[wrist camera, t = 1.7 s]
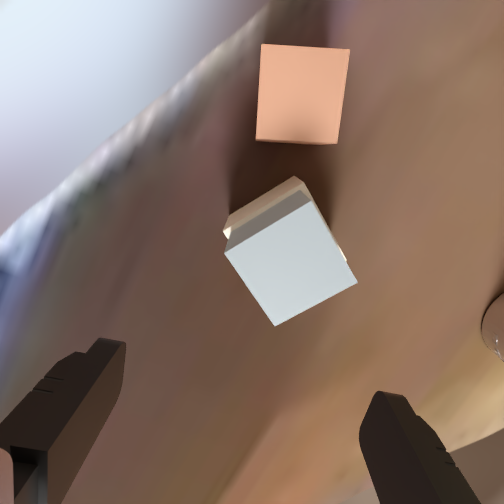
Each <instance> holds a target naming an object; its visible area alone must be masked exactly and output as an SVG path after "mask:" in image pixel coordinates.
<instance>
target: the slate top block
mask: <svg viewBox="0 0 504 504" xmlns="http://www.w3.org/2000/svg"><path fill="white" fill-rule="evenodd" d="M224 253H225V255H226V256H227V258H228V259H229V261H230V262H231V264H232V265H233V266H234V268H235V269H236V271H237V272H238V274H239V275H240V277H241V278H242V280H243V281H244V282H245V284H246V285H247V287H248V288H249V290H250V291H251V293H252V294H253V296H254V297H255V298H256V300H257V301H258V303H259V304H260V306H261V307H262V309H263V310H264V311H265V313H266V314H267V316H268V317H269V319H270V320H271V322H272V323H273V325H274V326H276V325H278V324H280V323H282V322H284V321H286V320H288V319H290V318H292V317H293V316H295V315H297V314H299V313H301V312H303V311H305V310H307V309H309V308H310V307H312V306H314V305H316V304H318V303H320V302H322V301H324V300H326V299H327V298H329V297H331V296H333V295H335V294H337V293H339V292H341V291H342V290H344V289H346V288H348V287H350V286H352V285H354V284H356V283H358V282H357V280H356V279H355V277H354V275H353V273H352V272H351V270H350V268H349V266H348V264H347V263H346V261H345V259H344V257H343V256H342V254H341V252H340V250H339V249H338V247H337V245H336V243H335V241H334V240H333V238H332V236H331V234H330V233H329V231H328V229H327V227H326V226H325V224H324V222H323V220H322V218H321V217H320V215H319V213H318V211H317V210H316V208H315V206H314V204H313V203H312V201H311V200H310V199H309V198H308V197H307V196H306V195H305V194H304V193H303V192H302V191H301V190H298V191H297V192H295V193H294V194H292V195H290V196H289V197H287V198H285V199H284V200H282V201H280V202H279V203H277V204H276V205H274V206H272V207H271V208H269V209H267V210H266V211H264V212H263V213H261V214H259V215H258V216H256V217H254V218H253V219H251V220H249V221H248V222H246V223H245V224H243V225H241V226H240V227H238V228H236V229H235V230H233V231H232V232H231V233H230V236H229V239H228V242H227V246H226V249H225V252H224Z"/></svg>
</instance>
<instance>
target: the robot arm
mask: <svg viewBox="0 0 504 504" xmlns="http://www.w3.org/2000/svg"><path fill="white" fill-rule="evenodd" d="M482 336H483V340H484V342H485V343H486V345H487V347H488V348H489V349H491V350H492V351H493V352H494V353H495V354H496V355H497V356H498V357H499V358H500V359H501V360H502V361H503V362H504V293H503V294H502V295H500V296H499V297H498V298H497V299H496V300H495V301H494V302H493V303H492V305H491V306H490V307H489V309H488V310H487V312H486V314H485V316H484V319H483V323H482ZM125 353H126V343H125V342H121V341H116V340H111V339H105V338H99V339H97V340H96V342H95V343H94V344H93V345H92V346H91V348H90V349H89V350H88V351H87V352H86V353H81V352H74V353H72V354H70V355H69V356H67V357H65V358H64V359H62V360H60V361H58V362H57V363H56V364H55V365H54V366H53V367H52V368H51V370H50V371H49V372H48V373H47V374H46V375H45V376H44V379H41V380H40V381H39V382H38V384H37V385H36V386H35V387H34V388H33V390H32V392H31V391H30V392H29V393H28V394H27V395H26V396H25V398H24V399H23V400H22V401H21V402H20V403H19V404H18V405H17V406H16V407H15V408H14V409H13V411H12V412H11V413H10V414H9V415H8V416H7V417H6V418H5V419H4V420H3V421H2V422H1V423H0V504H61V502H62V501H63V499H64V497H65V495H66V493H67V491H68V490H69V488H70V486H71V484H72V482H73V480H74V479H75V477H76V475H77V473H78V471H79V469H80V468H81V466H82V464H83V462H84V460H85V459H86V457H87V455H88V453H89V451H90V449H91V448H92V446H93V444H94V442H95V440H96V438H97V437H98V435H99V433H100V431H101V429H102V427H103V426H104V424H105V422H106V420H107V418H108V416H109V415H110V413H111V411H112V409H113V407H114V406H115V404H116V401H117V399H118V397H119V394H120V390H121V387H122V381H123V372H124V362H125ZM359 442H360V447H361V451H362V453H363V456H364V459H365V462H366V465H367V468H368V470H369V473H370V476H371V479H372V482H373V485H374V487H375V490H376V493H377V496H378V499H379V501H380V504H481V503H480V501H479V500H478V498H477V497H476V495H475V494H474V492H473V490H472V489H471V487H470V486H469V484H468V483H467V481H466V479H465V478H464V476H463V475H462V473H461V472H460V470H459V468H458V467H456V466H455V462H454V461H453V459H452V457H451V456H450V454H449V453H448V452H446V448H445V446H444V445H443V443H442V442H441V440H440V439H439V437H438V435H437V434H436V432H435V431H434V430H433V429H432V428H431V427H430V426H429V425H428V424H427V423H426V422H425V421H424V420H423V419H422V418H421V417H420V416H417V415H416V414H415V412H414V411H413V409H412V407H411V406H410V404H409V402H408V401H407V399H406V398H405V397H404V396H403V395H399V394H393V393H388V392H383V391H377V392H376V393H375V394H374V396H373V398H372V401H371V403H370V405H369V408H368V410H367V412H366V415H365V417H364V419H363V421H362V424H361V426H360V431H359Z"/></svg>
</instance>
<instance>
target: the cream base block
mask: <svg viewBox="0 0 504 504" xmlns="http://www.w3.org/2000/svg"><path fill="white" fill-rule="evenodd" d="M298 190H301V191H302V192H303V193H304V194H305V195H306V196H307V197H308V198H309V199H310V200H311V201H312V203H313V204H314V206H315V208H316V210H317V211H318V213H319V215H320V217H321V218H322V220H323V222H324V224H325V226H326V227H327V229H328V231H329V233H330V234H331V236H332V238H333V240H334V241H335V243H336V245H337V247H338V249H339V250H340V252H341V254H342V256H343V257H344V259H345V261H346V258H345V256H344V254H343V253H342V251H341V249H340V247H339V245H338V243H337V242H336V240H335V238H334V236H333V234H332V233H331V231H330V229H329V227H328V225H327V223H326V222H325V220H324V218H323V216H322V214H321V213H320V211H319V209H318V207H317V205H316V203H315V202H314V200H313V198H312V196H311V194H310V192H309V191H308V189H307V187H306V185H305V183H304V182H303V181H301V180H300V179H298V178H297V177H296V176H293V177H291V178H289V179H288V180H286V181H284V182H283V183H281V184H280V185H278V186H276V187H275V188H273V189H271V190H270V191H268V192H266V193H265V194H263V195H262V196H260V197H258V198H257V199H255V200H253V201H252V202H250V203H249V204H247V205H245V206H244V207H242V208H240V209H239V210H237V211H235V212H234V213H232V214H231V215H229V217H228V219H227V222H226V224H225V227H224V229H223V232H224V234H225V235H226V237H227V238H228V239H229V236H230V233H231V232H232V231H233V230H235V229H236V228H238V227H240V226H241V225H243V224H245V223H246V222H248V221H249V220H251V219H253V218H254V217H256V216H258V215H259V214H261V213H263V212H264V211H266V210H267V209H269V208H271V207H272V206H274V205H276V204H277V203H279V202H280V201H282V200H284V199H285V198H287V197H289V196H290V195H292V194H294V193H295V192H297V191H298Z"/></svg>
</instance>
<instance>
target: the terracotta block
mask: <svg viewBox="0 0 504 504" xmlns="http://www.w3.org/2000/svg"><path fill="white" fill-rule="evenodd" d="M349 54H350V50H349V49H333V48H318V47H302V46H287V45H271V44H261V60H260V77H259V94H258V111H257V128H256V141H264V142H280V143H296V144H312V145H324V144H337V140H338V133H339V126H340V119H341V111H342V104H343V97H344V90H345V83H346V75H347V68H348V61H349Z"/></svg>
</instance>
